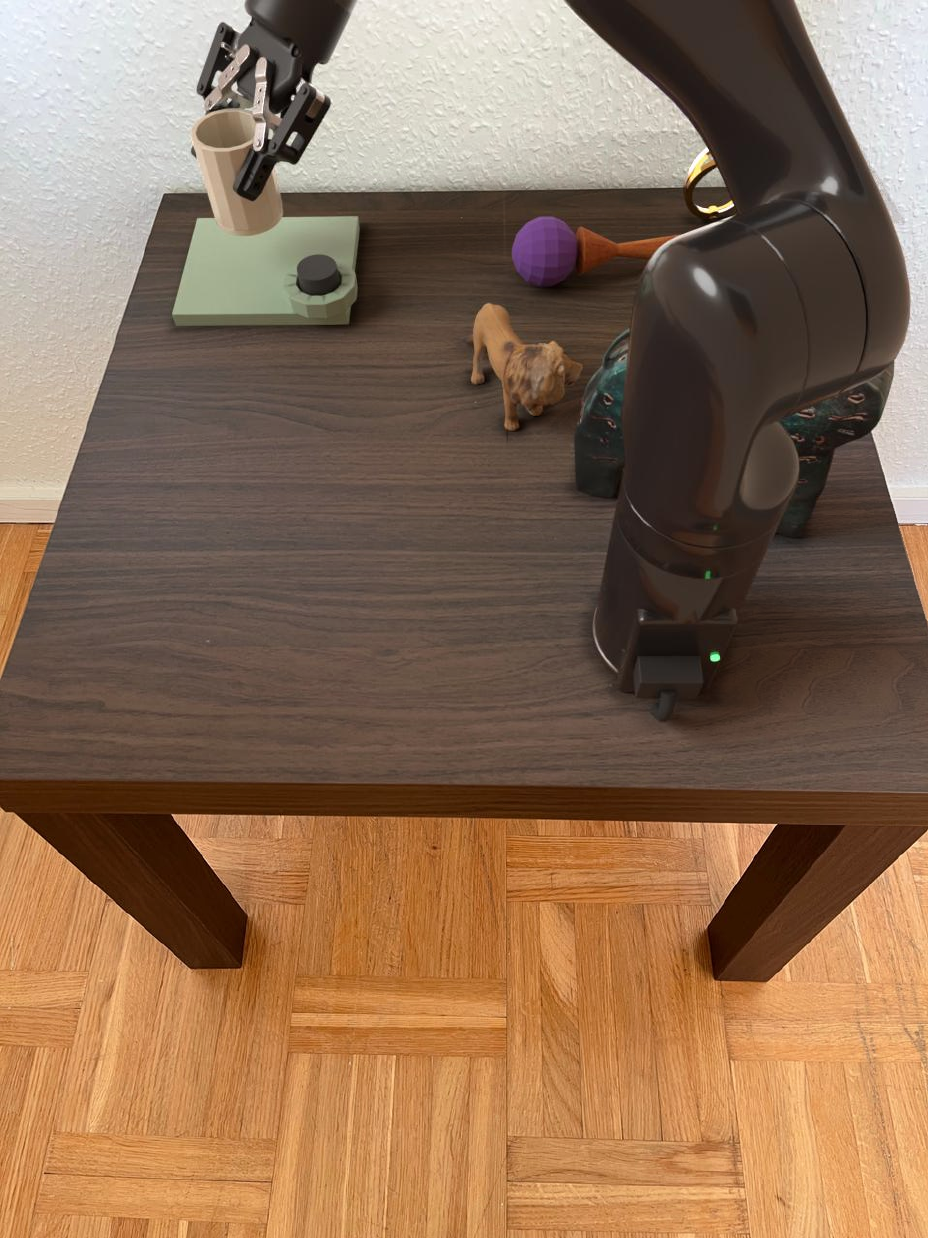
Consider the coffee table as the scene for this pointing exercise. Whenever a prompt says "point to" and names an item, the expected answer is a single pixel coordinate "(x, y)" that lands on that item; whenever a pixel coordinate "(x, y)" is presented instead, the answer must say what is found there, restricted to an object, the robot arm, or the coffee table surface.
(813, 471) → the ceramic cat
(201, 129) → the cup
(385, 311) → the coffee table surface
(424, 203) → the coffee table surface
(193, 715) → the coffee table surface
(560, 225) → the kendama
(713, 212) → the ring
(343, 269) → the scale
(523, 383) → the lion figurine
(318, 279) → the button
